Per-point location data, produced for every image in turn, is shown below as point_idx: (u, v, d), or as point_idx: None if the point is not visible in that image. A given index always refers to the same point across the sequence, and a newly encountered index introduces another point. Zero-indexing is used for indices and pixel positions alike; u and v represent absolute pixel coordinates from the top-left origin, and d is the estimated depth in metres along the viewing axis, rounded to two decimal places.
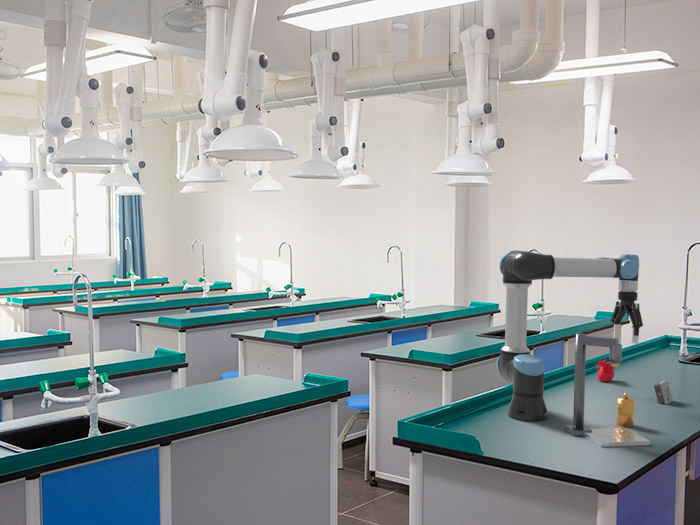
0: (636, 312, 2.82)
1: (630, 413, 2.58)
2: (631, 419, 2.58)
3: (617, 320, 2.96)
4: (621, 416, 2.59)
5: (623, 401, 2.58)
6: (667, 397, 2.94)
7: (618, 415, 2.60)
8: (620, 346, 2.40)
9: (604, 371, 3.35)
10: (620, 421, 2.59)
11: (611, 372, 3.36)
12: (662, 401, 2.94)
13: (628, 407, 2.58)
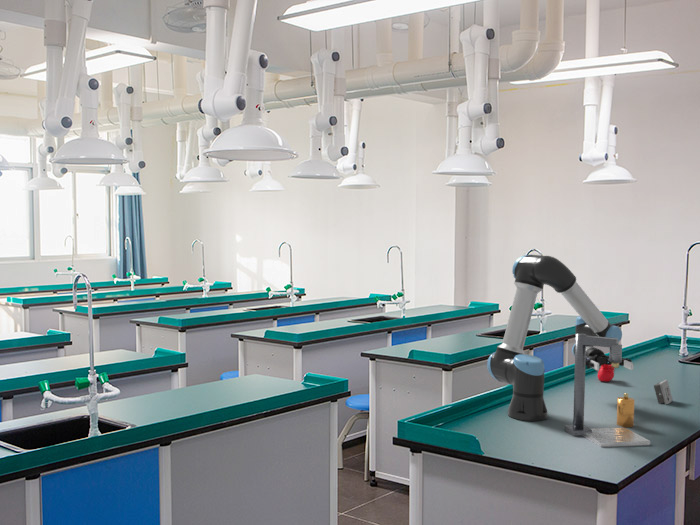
0: None
1: (630, 413, 2.58)
2: (631, 419, 2.58)
3: None
4: (621, 416, 2.59)
5: (623, 401, 2.58)
6: (667, 397, 2.94)
7: (618, 415, 2.60)
8: (620, 346, 2.40)
9: (604, 371, 3.35)
10: (620, 421, 2.59)
11: (611, 372, 3.36)
12: (662, 401, 2.94)
13: (628, 407, 2.58)
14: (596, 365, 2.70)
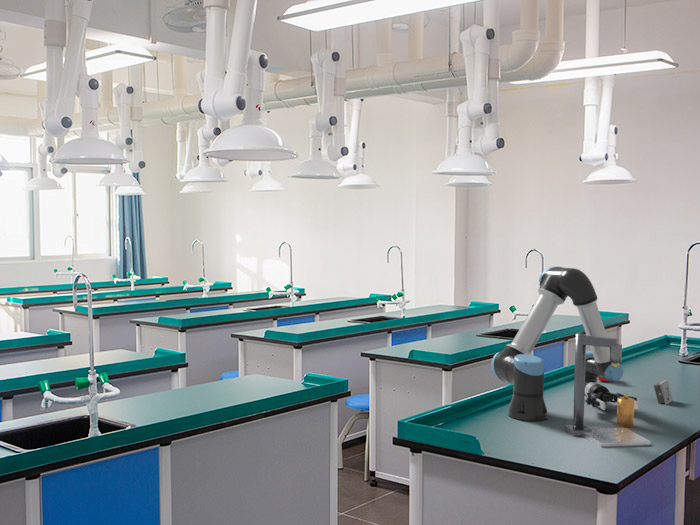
0: None
1: (630, 413, 2.58)
2: (631, 419, 2.58)
3: None
4: (621, 416, 2.59)
5: (623, 401, 2.58)
6: (667, 397, 2.94)
7: (618, 415, 2.60)
8: (620, 346, 2.40)
9: None
10: (620, 421, 2.59)
11: None
12: (662, 401, 2.94)
13: (628, 407, 2.58)
14: (602, 404, 2.66)
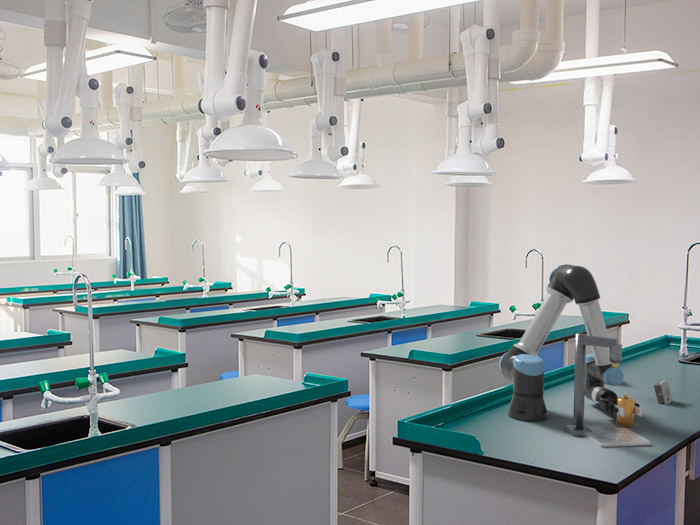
0: None
1: (630, 413, 2.58)
2: (631, 419, 2.58)
3: None
4: (621, 416, 2.59)
5: (623, 401, 2.58)
6: (667, 397, 2.94)
7: (618, 415, 2.60)
8: (620, 346, 2.40)
9: None
10: (620, 421, 2.59)
11: None
12: (662, 401, 2.94)
13: (628, 407, 2.58)
14: (621, 411, 2.56)
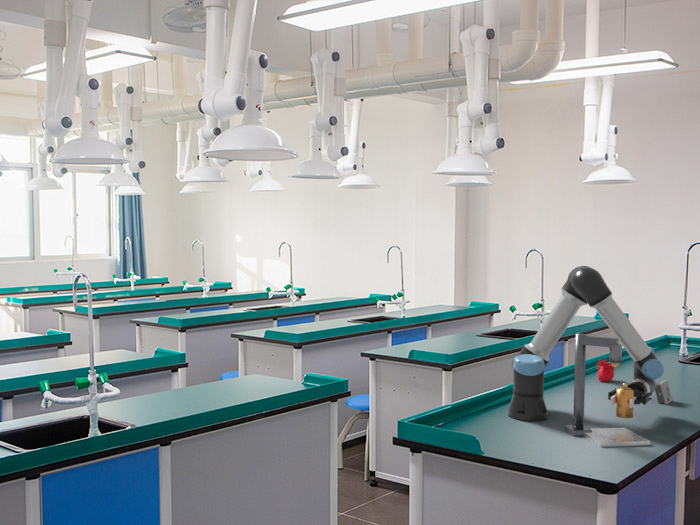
0: (648, 396, 2.56)
1: (624, 403, 2.50)
2: (625, 410, 2.50)
3: None
4: (616, 405, 2.53)
5: (617, 390, 2.52)
6: (667, 397, 2.94)
7: (616, 404, 2.54)
8: (620, 346, 2.40)
9: (604, 371, 3.35)
10: (616, 411, 2.53)
11: (611, 372, 3.36)
12: (662, 401, 2.94)
13: (621, 397, 2.51)
14: None
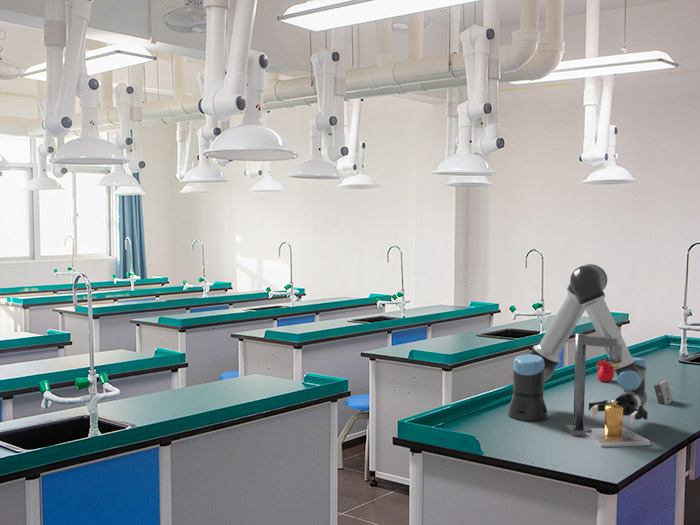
0: None
1: (613, 421, 2.40)
2: (614, 428, 2.40)
3: (600, 406, 2.50)
4: (605, 424, 2.43)
5: (606, 408, 2.42)
6: (667, 397, 2.94)
7: None
8: (620, 346, 2.40)
9: (604, 371, 3.35)
10: (604, 429, 2.43)
11: (611, 372, 3.36)
12: (662, 401, 2.94)
13: (610, 415, 2.40)
14: None
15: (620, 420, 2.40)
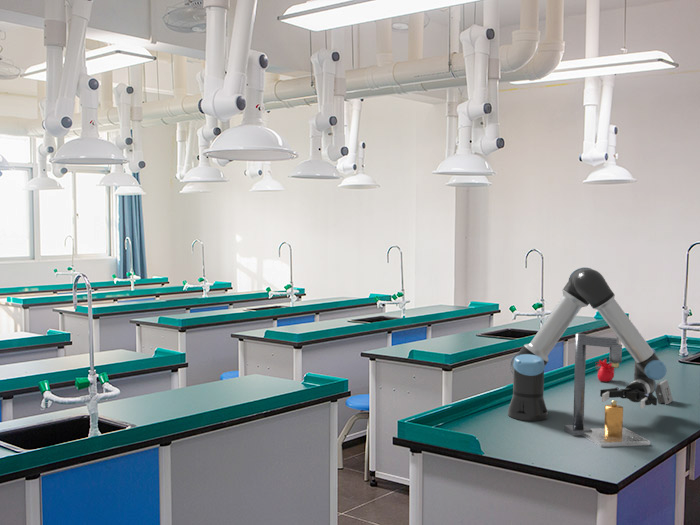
0: None
1: (613, 421, 2.40)
2: (614, 428, 2.40)
3: (611, 393, 2.62)
4: (605, 424, 2.43)
5: (606, 408, 2.42)
6: (667, 397, 2.94)
7: None
8: (620, 346, 2.40)
9: (604, 371, 3.35)
10: (604, 429, 2.43)
11: (611, 372, 3.36)
12: (662, 401, 2.94)
13: (610, 415, 2.40)
14: None
15: (620, 420, 2.40)
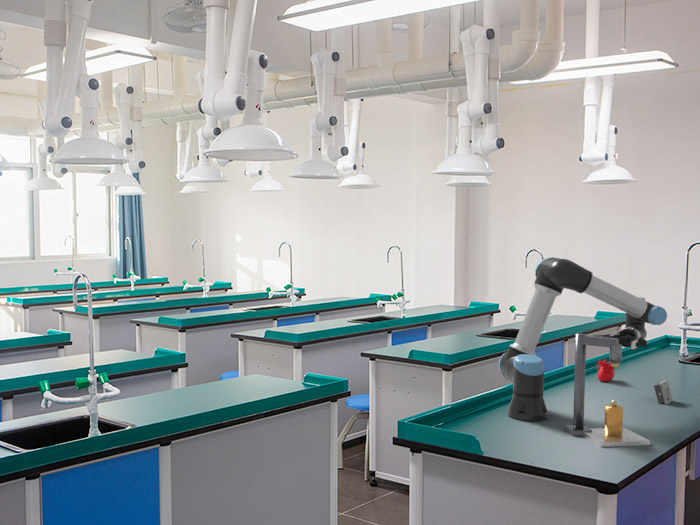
0: None
1: (613, 421, 2.40)
2: (614, 428, 2.40)
3: None
4: (605, 424, 2.43)
5: (606, 408, 2.42)
6: (667, 397, 2.94)
7: (604, 422, 2.44)
8: (620, 346, 2.40)
9: (604, 371, 3.35)
10: (604, 429, 2.43)
11: (611, 372, 3.36)
12: (662, 401, 2.94)
13: (610, 415, 2.40)
14: None
15: (620, 420, 2.40)
